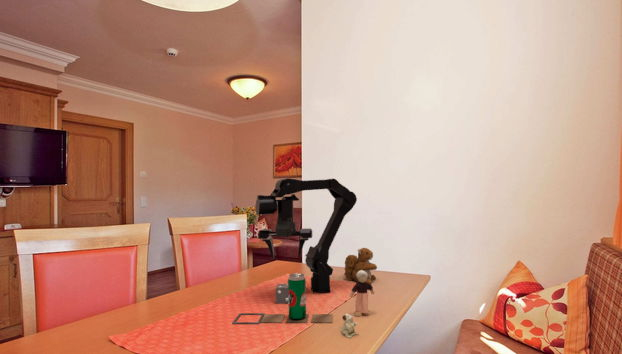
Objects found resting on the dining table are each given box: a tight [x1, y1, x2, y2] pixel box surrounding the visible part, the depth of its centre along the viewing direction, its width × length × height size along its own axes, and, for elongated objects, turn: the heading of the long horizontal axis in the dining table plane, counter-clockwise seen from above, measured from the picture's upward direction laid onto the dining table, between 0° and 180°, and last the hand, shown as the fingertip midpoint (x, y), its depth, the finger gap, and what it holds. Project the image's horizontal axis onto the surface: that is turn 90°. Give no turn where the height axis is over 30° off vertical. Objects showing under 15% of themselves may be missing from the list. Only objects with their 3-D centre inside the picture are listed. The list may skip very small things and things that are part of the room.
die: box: [275, 283, 288, 305], centre depth 111 cm, size 5×5×5 cm
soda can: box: [287, 272, 307, 320], centre depth 96 cm, size 5×5×12 cm
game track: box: [231, 312, 334, 325], centre depth 95 cm, size 28×8×1 cm, turn 87°
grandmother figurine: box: [349, 270, 375, 317], centre depth 98 cm, size 8×4×13 cm, turn 117°
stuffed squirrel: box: [343, 247, 378, 285], centre depth 137 cm, size 10×14×13 cm
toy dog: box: [339, 313, 359, 339], centre depth 84 cm, size 4×5×5 cm
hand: (286, 258), depth 118 cm, fingers open, 9 cm apart
